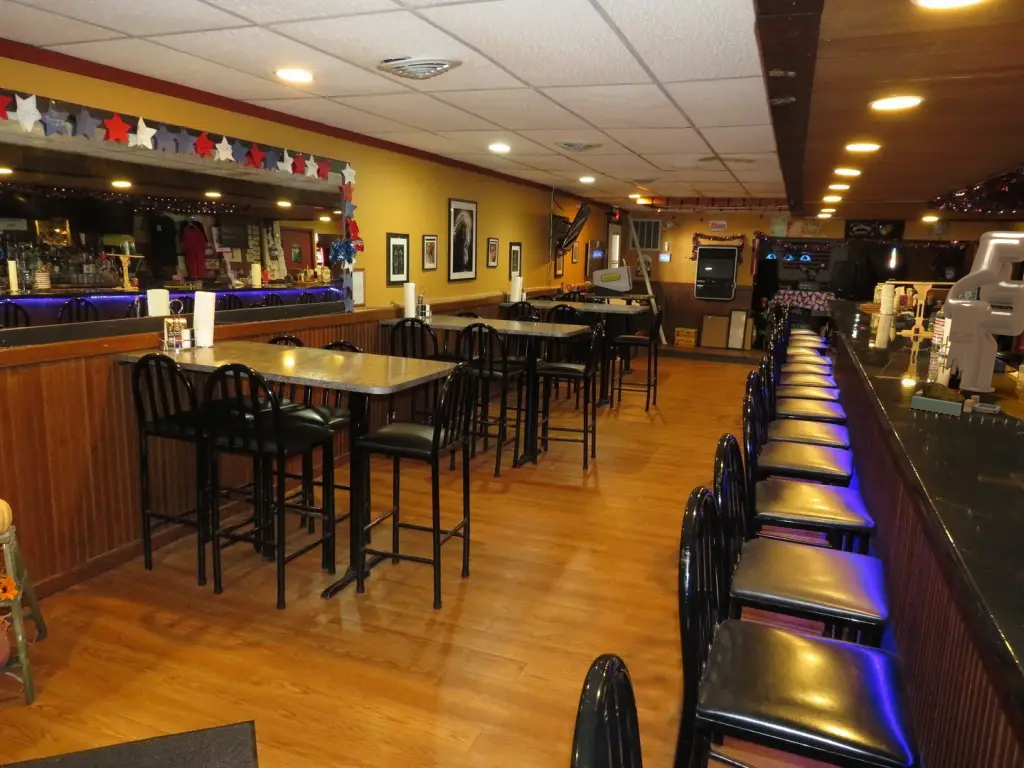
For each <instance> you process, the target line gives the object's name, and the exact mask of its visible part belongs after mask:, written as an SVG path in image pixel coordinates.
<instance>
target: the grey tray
mask: <svg viewBox="0 0 1024 768" xmlns="http://www.w3.org/2000/svg"><path fill="white" fill-rule="evenodd" d="M1001 409H1002V406H1001V405H994V404H989V403H982V402H979V403H978V404H977V405H975V406H974V407H973V411H972V412H975V413H981V412H983V413H982V414H987V413H994V414H996V413H997V414H999V412H1000V411H1001ZM997 414H996V415H997Z"/></svg>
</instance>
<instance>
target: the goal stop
mask: <svg viewBox="0 0 1024 768" xmlns="http://www.w3.org/2000/svg"><path fill="white" fill-rule="evenodd" d="M910 401H911V402H910V408H914V409H913V410H916V409H920V410H919V411H922V410H926V411H925V412H928V411H932V412H931V413H934V412H938V413H937V414H940V413H943V414H942V415H946V414H949V415H948V416H952V415H954V416H953V417H958V416H959V417H960V416H961V412H962V407H963V406H962V404H961V403H955V402H948V401H942V400H936V399H929V398H923V397H916V396H914V395H912V397H911V400H910Z"/></svg>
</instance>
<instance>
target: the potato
mask: <svg viewBox="0 0 1024 768" xmlns="http://www.w3.org/2000/svg"><path fill="white" fill-rule="evenodd" d="M921 390H922V392H923V396H924V397H925V398H929V399H936V400H942V401H948V402H955V403H961V404H962V406H961V407H964V404H965V401H966V400H967V399H966V397H965V396H964V395H963V394H962V393H960V392H957V391H955V390H954V389H949V388H948V386H946V385H945V384H943V383H941V382H935V381H930V382H927V383H925V384H924V385H922V387H921Z"/></svg>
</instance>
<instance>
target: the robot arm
mask: <svg viewBox="0 0 1024 768" xmlns="http://www.w3.org/2000/svg"><path fill="white" fill-rule="evenodd" d="M1023 261H1024V231H1011V230H1010V231H1007V230H993V231H986V232H984V233H982V234H981V236H980V238H979V246H978V249H977V252H976V254H975V257H974V259H973V263H972V266H971V269H970V272H969V273H968V274H967V275H965V276H963V277H962V278H960V279H958V281H956V282H955V283H954V284H953V285H952V286H951V288H950V289H949V291H948V293H947V295H946V299H945V301H944V304H943V308H942V314H943V316H944V317H945V318H946V319H947V320H951V321H950V327H949V334H948V342H949V343H950V344H949V347H948V351H947V357H946V363H945V367H944V369H945V370H947V371H948V370H950V372H949V379H948V385H947V387H948V388H949V389H951V390H954V391H955V390H956V391H957V390H959V389H960V390H963V391H970V392H975V393H994V392H995V390H996V388H995V387H992V386H991V385H992V380H993V379H992V378H993V374H994V369H995V363H996V356H997V352H998V343H997V341H996V339H995V337H994V336H993V335H1000V336H1001V335H1004V336H1012V337H1013V336H1014V337H1016V336H1020V335H1021V334H1023V332H1024V281H1023V280H1015V279H1014V280H1011V275H1012V273H1013V272H1012V271H1013V266H1012V265H1013V264H1012V263H1021V262H1023ZM976 288H977V289H978V288H980V289H979V300H978V299H977V300H976V299H965V298H959V297H960V296H961V295H962V294H964V293H966V292H968V291H969V290H970V291H971V290H973V289H976ZM991 305H995V306H1002V307H1003V306H1004V307H1005V306H1006V307H1007V306H1008V307H1012V309H1009V308H1008V309H1004V308H996V307H992V306H991Z"/></svg>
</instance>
